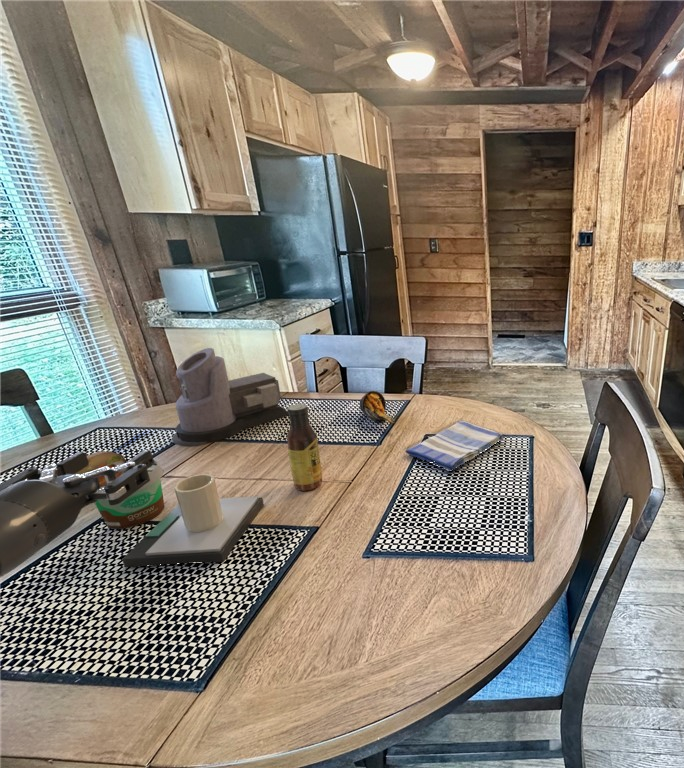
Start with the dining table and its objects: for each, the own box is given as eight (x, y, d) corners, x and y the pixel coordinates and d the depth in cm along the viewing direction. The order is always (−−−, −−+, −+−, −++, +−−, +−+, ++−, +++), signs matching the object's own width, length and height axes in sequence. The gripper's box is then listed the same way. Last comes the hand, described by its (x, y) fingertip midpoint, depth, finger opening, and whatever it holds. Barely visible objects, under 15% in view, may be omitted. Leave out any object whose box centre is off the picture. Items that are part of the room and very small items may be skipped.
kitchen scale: (124, 568, 73) (120, 556, 72) (184, 508, 89) (181, 498, 88) (223, 562, 75) (220, 550, 74) (263, 505, 91) (261, 494, 90)
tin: (49, 515, 85) (35, 479, 83) (39, 511, 86) (25, 476, 84) (132, 477, 99) (122, 446, 96) (123, 475, 100) (113, 443, 97)
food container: (118, 540, 79) (103, 496, 76) (98, 532, 81) (82, 488, 78) (186, 504, 90) (175, 464, 87) (167, 497, 92) (155, 458, 89)
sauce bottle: (321, 490, 97) (310, 411, 90) (291, 494, 95) (278, 414, 88) (324, 475, 103) (314, 400, 96) (296, 478, 101) (284, 403, 94)
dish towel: (505, 440, 123) (505, 432, 122) (452, 475, 105) (452, 465, 104) (460, 425, 132) (460, 417, 131) (404, 454, 113) (403, 445, 112)
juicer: (185, 451, 111) (162, 364, 103) (163, 434, 120) (140, 352, 111) (295, 416, 135) (283, 342, 126) (269, 404, 143) (257, 334, 135)
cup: (178, 533, 78) (166, 492, 75) (197, 513, 83) (187, 474, 80) (213, 531, 79) (202, 491, 76) (229, 511, 84) (220, 473, 81)
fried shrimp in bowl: (376, 394, 143) (410, 389, 132) (374, 426, 141) (408, 423, 130) (352, 390, 135) (386, 385, 125) (349, 424, 134) (384, 421, 123)
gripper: (67, 498, 45) (164, 432, 60) (-88, 505, 43) (53, 435, 58) (88, 554, 48) (177, 477, 63) (-58, 562, 46) (70, 481, 61)
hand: (117, 457), depth 60 cm, fingers open, 8 cm apart
